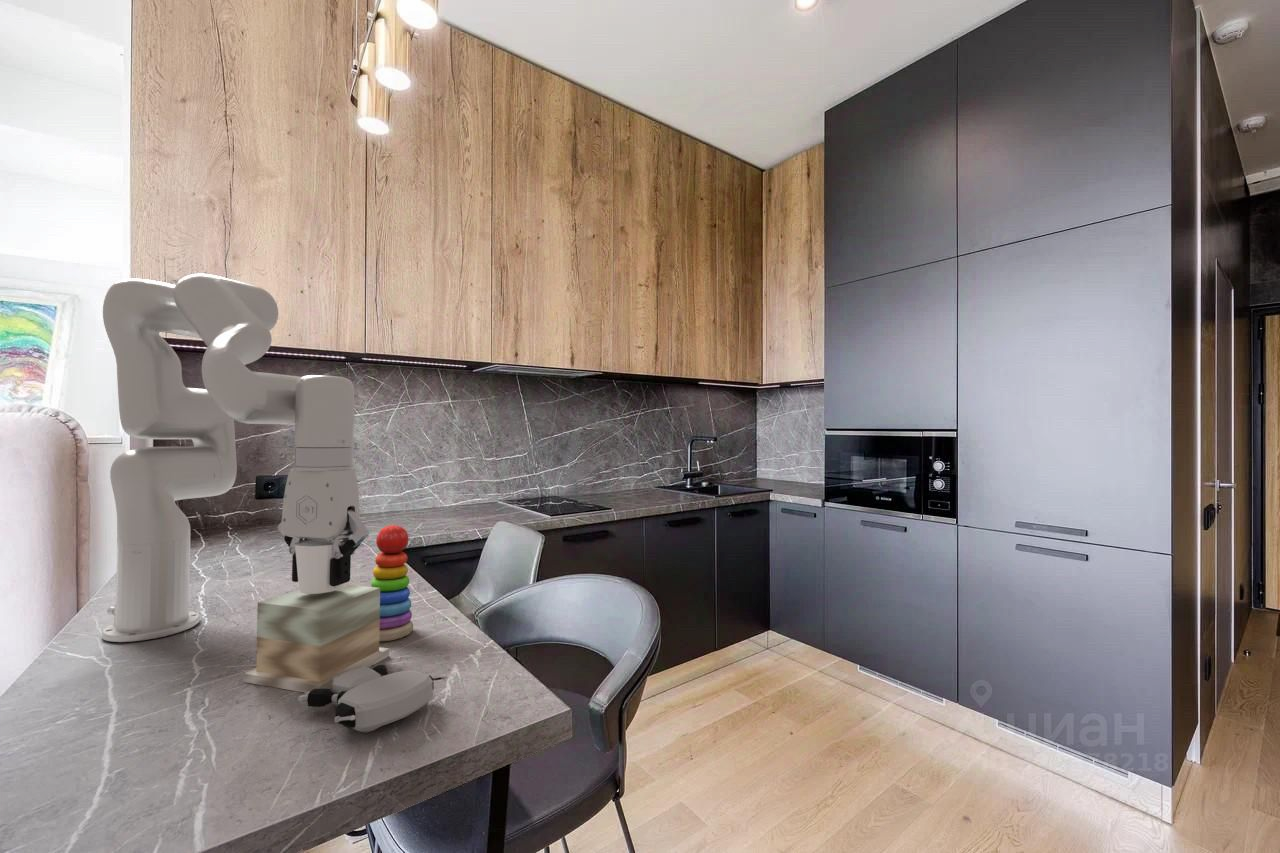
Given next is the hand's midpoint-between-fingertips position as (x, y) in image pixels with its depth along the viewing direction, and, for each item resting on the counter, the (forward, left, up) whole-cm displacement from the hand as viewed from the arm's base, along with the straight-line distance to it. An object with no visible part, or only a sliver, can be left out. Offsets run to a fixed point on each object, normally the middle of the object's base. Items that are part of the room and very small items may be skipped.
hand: (321, 580), depth 80 cm
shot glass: (0, 0, -1) cm, 1 cm away
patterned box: (0, 0, -13) cm, 13 cm away
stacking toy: (0, +14, -13) cm, 19 cm away
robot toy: (+16, -8, -13) cm, 22 cm away
